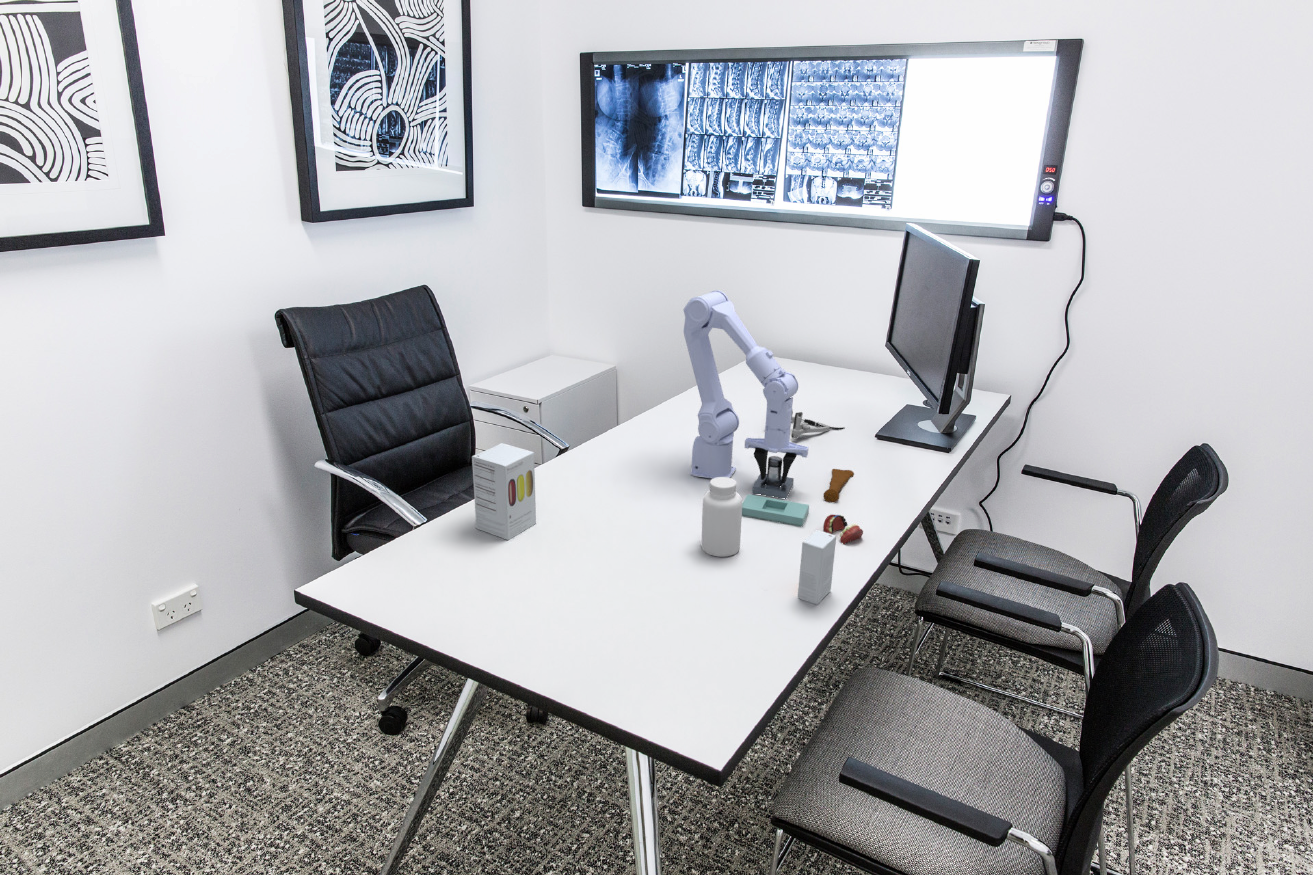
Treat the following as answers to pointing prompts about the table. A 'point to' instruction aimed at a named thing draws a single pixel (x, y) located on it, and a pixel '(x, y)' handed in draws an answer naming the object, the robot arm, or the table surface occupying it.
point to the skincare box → (816, 566)
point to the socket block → (772, 488)
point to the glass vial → (774, 471)
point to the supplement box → (504, 490)
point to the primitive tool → (837, 484)
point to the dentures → (840, 523)
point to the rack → (775, 510)
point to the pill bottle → (721, 518)
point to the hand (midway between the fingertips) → (773, 479)
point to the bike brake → (804, 428)
